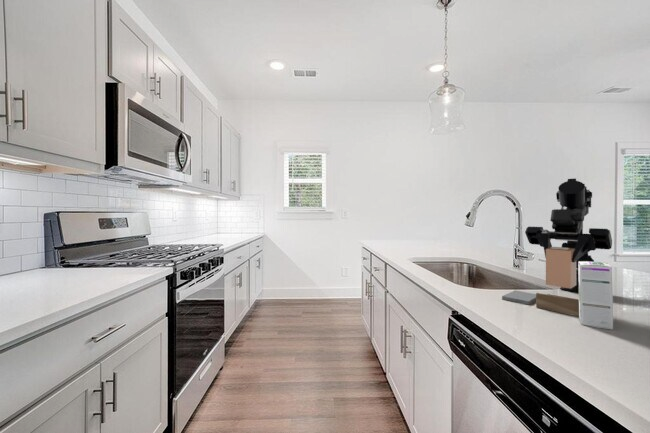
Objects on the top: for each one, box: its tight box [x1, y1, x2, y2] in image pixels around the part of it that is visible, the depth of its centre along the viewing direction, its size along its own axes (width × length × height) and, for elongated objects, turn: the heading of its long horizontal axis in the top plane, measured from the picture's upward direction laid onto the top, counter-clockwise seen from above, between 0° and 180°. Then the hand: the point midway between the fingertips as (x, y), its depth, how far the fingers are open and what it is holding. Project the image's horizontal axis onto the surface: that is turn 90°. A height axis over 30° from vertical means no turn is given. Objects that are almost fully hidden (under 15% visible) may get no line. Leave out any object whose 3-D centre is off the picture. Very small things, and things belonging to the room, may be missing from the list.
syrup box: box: [578, 261, 614, 331], centre depth 70 cm, size 6×6×14 cm
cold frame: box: [535, 292, 579, 317], centre depth 81 cm, size 10×10×4 cm
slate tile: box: [501, 290, 536, 306], centre depth 90 cm, size 10×7×1 cm
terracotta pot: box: [545, 246, 576, 289], centre depth 82 cm, size 6×6×10 cm
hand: (559, 260), depth 81 cm, fingers closed on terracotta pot, 5 cm apart
